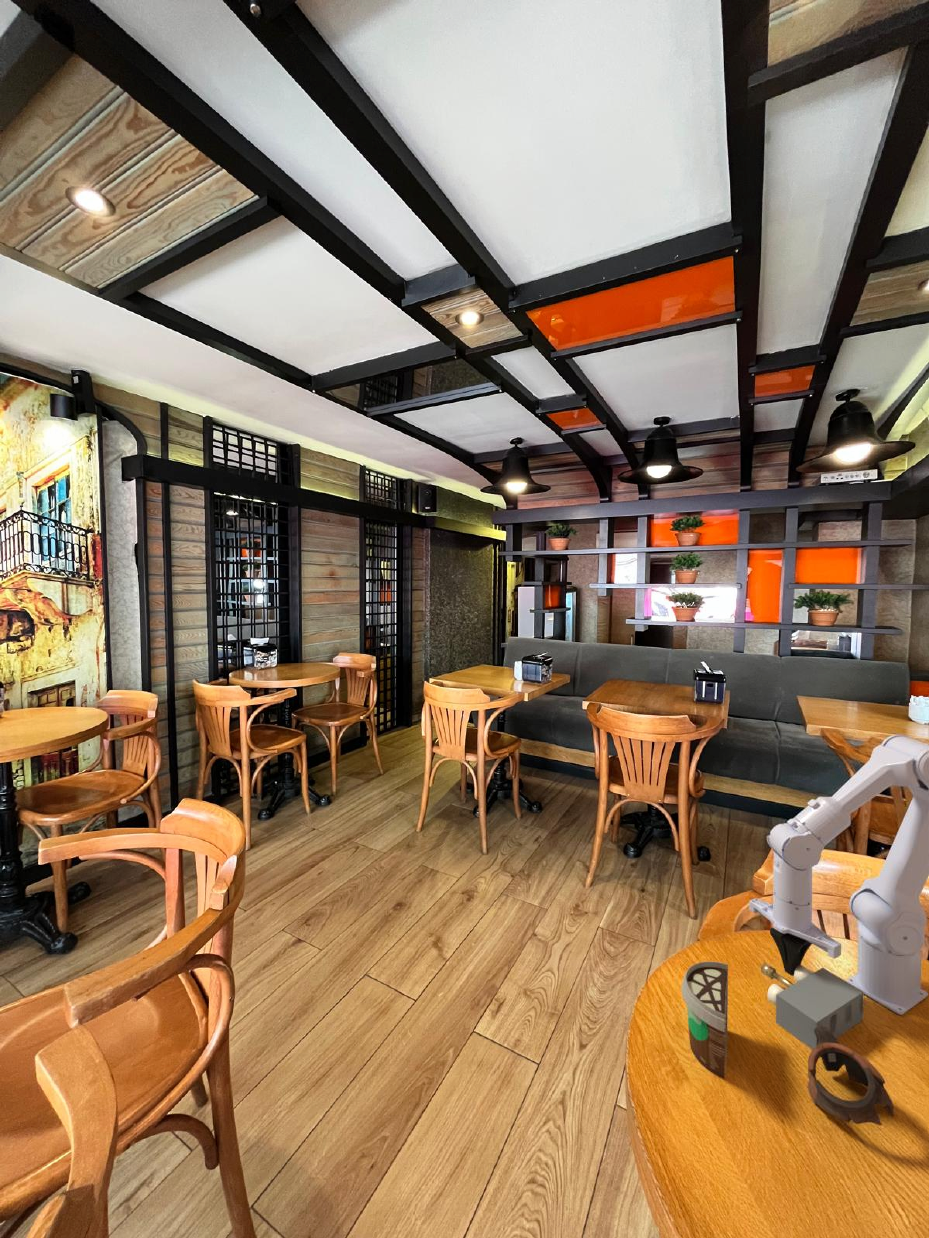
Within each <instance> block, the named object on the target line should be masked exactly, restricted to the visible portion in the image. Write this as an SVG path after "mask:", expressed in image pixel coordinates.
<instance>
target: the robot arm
mask: <svg viewBox="0 0 929 1238" xmlns="http://www.w3.org/2000/svg"><path fill="white" fill-rule="evenodd" d="M893 786H894V787H907V788H908V789H909V791H910V793H911V794H912V800H911V801H910V804H909V806H908V808H907V810H906V813H905V815H904V817H903V820H902V822H901V824H900V826H899V829H898V831H897V833H896V836H895V838H894V839H893V843H892V844H891V847H890V850H889V852H888V854H887V856H886V859H885V860H884V863H883V866H882V867H881V870H880V872H879V875H878V876H877V877H872V878H867V879H865V880H864V881H863V883H862V885H861V887H859V888H858V890H856V891H855V892H853V893H852V895H850V896H851V897H850V898H849V902H848V907H849V910H850V912H851V914H852V915H853V917H855V918H856V927H857V973H855V974H854V975H853V976H850V977H849V978H848V979H846V980H845V981H846V982H848V983H850V984H851V985H853V986H855V987H856V988H858V989H860V990H861V991H863V995H865V996H867V997H869V998H870V999H873V1000H874V1001H875V1002H877V1003H879V1004H880V1005H882V1006H884V1007H886V1008H887V1009H888V1010H890V1011H893V1012H894V1013H895V1014H897V1015H901V1016H903V1015H904V1014H906V1013H907V1012H908V1011H909V1010H911V1009H912V1008H914V1007H915V1006H916V1005H918V1004H919V1003H920V1002H921V1001H923V1000H924V999H926V998H927V997H928V996H929V993H928V992H927V991H926V990H924V989H922V954H921V952H920V951H921V950H922V948H923V947H924V945H925V942H926V936H925V935H926V933H925V927H926V925H927V922H928V918H927V915H926V912H925V909H924V907H923V906H922V902H921V901H920V895H921V893H922V891H923V889H924V887H925V884H926V883H927V880H928V878H929V743H926V742H924V741H920V740H917V739H914V738H912V737H911V736H908V735H906V734H893V735H890V736H888V737H886V738H885V739H884V740H883V741H882V742H881V744H879V745H877V746H875V747H874V748H873V749H872V752H871V755H870V759H869V760H868V761H867V762H866V763H865V764H864V765H863V766H862V767H860V769H858V771H857V772H856V773H854V774H853V776H852V777H851V778H850V779H849V780H847V782H845V783H844V784H843V785H842V786H841V787H840V788H839V789H838V790H837V791H836V792H835V793H834V794H833V795H832V796H818V797H817V798H816V799H813V798H812V799H810V800H809V801H807V806H806V807H805V808H804V809H803V810H801V811H800V812H799V813H798V814H797V815H795V816H794V817H793V818H790V819H789V820H787V822H786V823H785V822H784V823H779V824H777V825H775V826H774V827H773V828H772V829H771V830H770V833H769V835H767V836H766V841H767V844H768V845H769V847H770V848H771V849H772V852H773V866H772V867H773V868H772V871H773V872H772V873H773V874H772V876H773V877H772V881H773V882H772V883H773V884H772V888H773V889H772V891H773V892H772V897H773V899H772V903H769V902H766V901H763V900H761V899H759V898H757V897H755V898H753V899H750V900H749V902H748V903H749V906H748V907H749V909H748V911H749V912H751V913H753V914H759V915H761V916H762V917H764V918H766V919H767V920H768V921H770V922H771V923H772V924H773V925H772V927H771V928H770V929H769V934H770V936H771V938H772V939H773V941H774V943H775V945H776V946H777V949H778V953H779V955H780V958H781V962H782V965H783V969H784V972H785V973H786V974H788V975H790V977H791V976H792V977H794V973H795V970H796V968H797V966H799V965H802V962H803V960H804V957H805V955H806V954H807V952H808V950H809V948H810V947H811V946H812V945H814V946H815V947H817V948H819V949H820V950H822V951H824V952H826V953H827V955H828V956H829V957H831V958H833V959H834V960H835V959H836V958H839V957H840V956H841V955H842V943H840V942H839V941H837V940H835V939H833V938H832V936H830V935H828V934H827V933H826V932H824V930H822V929H821V928H820V927H818V926H817V925H816V924H814V923H813V867H814V866H817V865H818V864H819V862H820V860H821V858H822V852H823V851H824V850H825V847H826V845H827V844H829V843H830V842H831V841H832V840H834V839H835V838H836V837H837V836H839V835H840V834H841V833H842V832H844V831H845V830H846V829H847V828H849V827H850V826H851V824H852V822H851V821H852V819H851V818H852V817H851V815H852V814H851V813H853V812H855V811H856V810H857V809H859V808H862V806H864V804H866V803H868V802H870V800H873V798H875V797H876V796H878V795H879V794H881V793H882V792H883V791H885V790H887V789H888V788H889V787H893Z"/></svg>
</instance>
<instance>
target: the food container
mask: <svg viewBox="0 0 929 1238" xmlns="http://www.w3.org/2000/svg"><path fill="white" fill-rule="evenodd" d="M728 976H729V964H727V963H724V962H720V961H711V960H709V961H706V960H705V961H700V962H697V963H694V964H692V965H691V966H689V968H688V969H687V970H686V972H685V974H684V977H683V980H682V983H681V994H682V998H683V1001H684V1003H685V1004H686V1010H687V1011H686V1012H687V1023H688V1035H689V1037H688V1038H689V1047H690V1050H691V1052H692V1054H693V1055H694V1057H695V1058H696V1060H697V1061H698V1063H700V1064H701V1065H702V1066H703V1067H704V1068H705V1069H706V1070H708V1071H709V1072H710V1073H711V1074H713V1075H715V1076H717V1077H718V1078H720V1079H723V1080H726V1065H727V1063H726V1062H727V1047H728V1043H727V1042H728V1017H729V1016H728V1014H729V1013H728V1004H729V1003H728V1002H729V1001H728V997H729V995H728V994H729V993H728V992H729V991H728V990H729V989H728V988H729V987H728V986H729V980H728V979H729V977H728Z"/></svg>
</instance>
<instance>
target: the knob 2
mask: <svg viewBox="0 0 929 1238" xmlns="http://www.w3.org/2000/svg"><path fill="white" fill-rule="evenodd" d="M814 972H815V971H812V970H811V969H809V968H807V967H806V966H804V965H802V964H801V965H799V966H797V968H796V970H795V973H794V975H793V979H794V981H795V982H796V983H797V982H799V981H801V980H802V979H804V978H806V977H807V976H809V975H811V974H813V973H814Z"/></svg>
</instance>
